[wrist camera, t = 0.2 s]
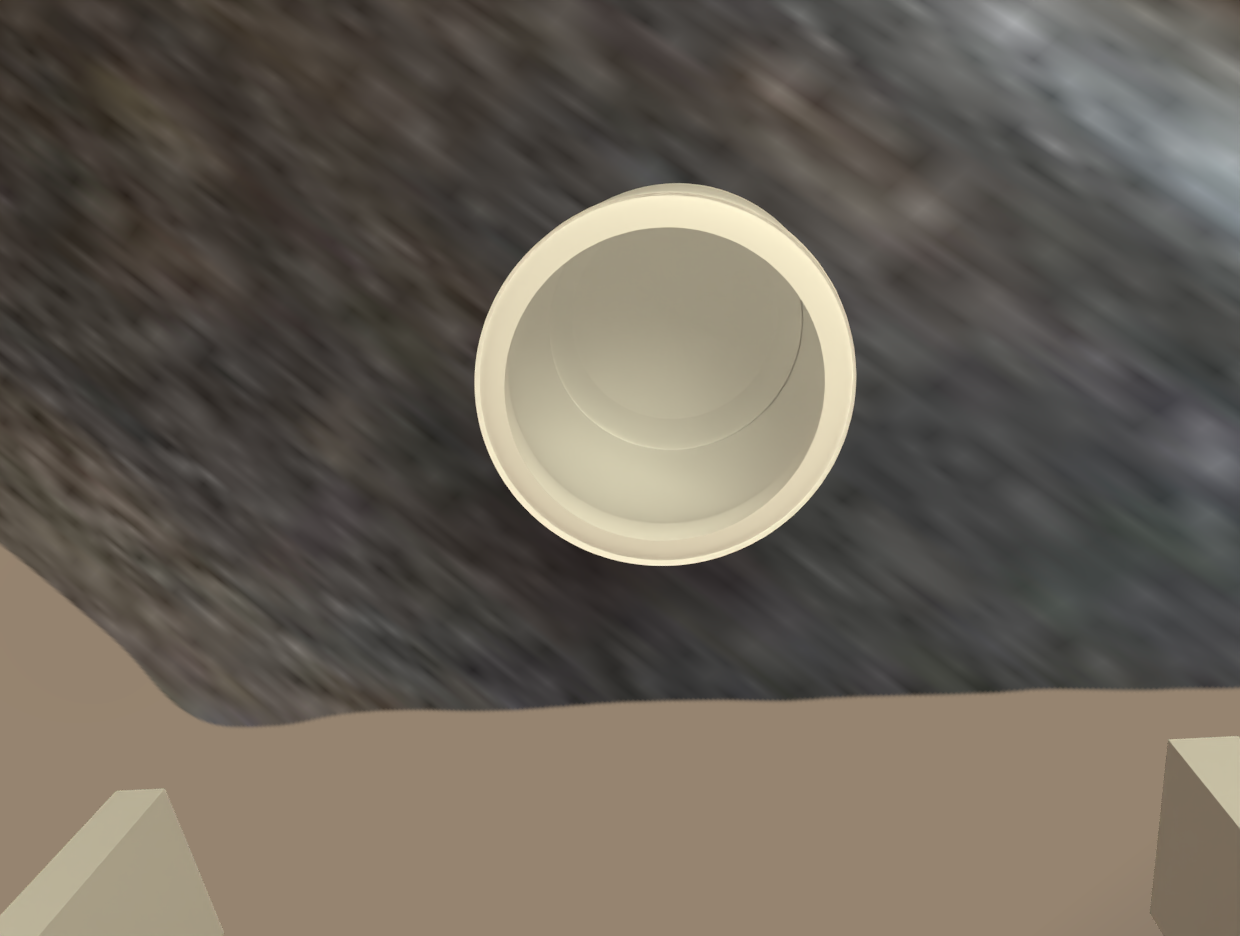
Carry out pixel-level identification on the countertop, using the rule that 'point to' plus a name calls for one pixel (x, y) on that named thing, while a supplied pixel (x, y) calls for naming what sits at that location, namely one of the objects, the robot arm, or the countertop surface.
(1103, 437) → the countertop surface
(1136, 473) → the countertop surface
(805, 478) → the jar
